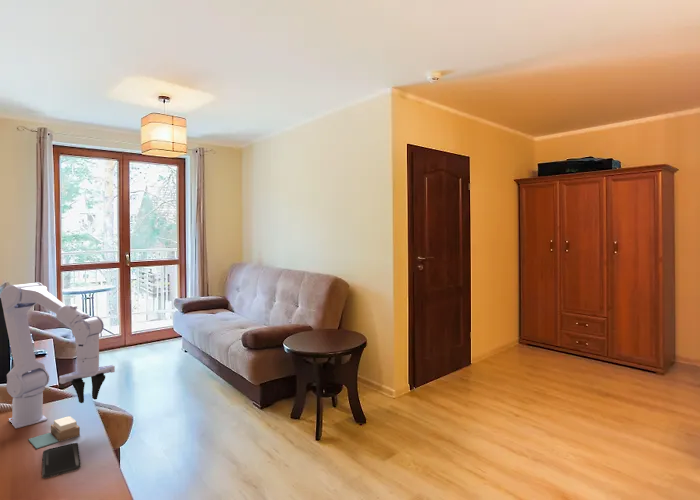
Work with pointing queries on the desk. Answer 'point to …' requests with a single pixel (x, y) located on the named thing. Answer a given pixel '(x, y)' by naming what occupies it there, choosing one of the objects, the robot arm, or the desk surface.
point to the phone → (60, 460)
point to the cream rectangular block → (65, 423)
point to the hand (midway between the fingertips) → (88, 400)
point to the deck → (65, 433)
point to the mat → (43, 440)
